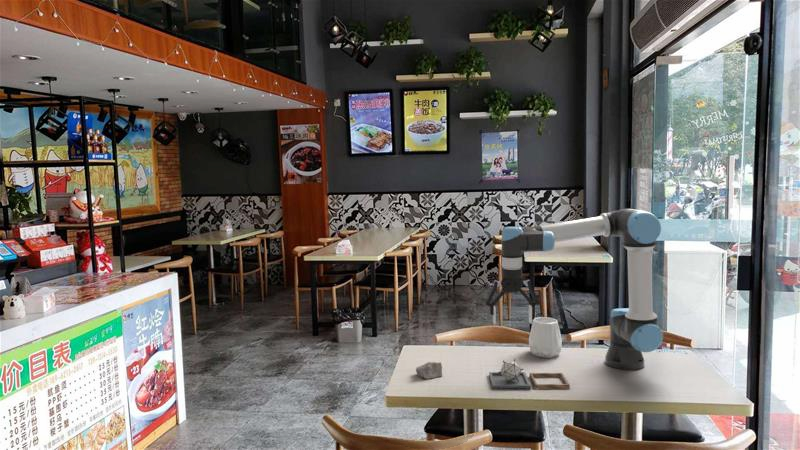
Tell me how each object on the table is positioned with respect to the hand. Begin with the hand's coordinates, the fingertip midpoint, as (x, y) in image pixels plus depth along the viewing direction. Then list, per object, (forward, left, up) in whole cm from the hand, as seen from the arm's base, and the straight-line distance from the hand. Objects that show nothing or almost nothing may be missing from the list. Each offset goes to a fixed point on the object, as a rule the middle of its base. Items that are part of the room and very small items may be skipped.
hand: (512, 323), depth 229 cm
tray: (+1, +2, -23) cm, 23 cm away
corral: (-14, +2, -23) cm, 27 cm away
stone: (+32, -5, -23) cm, 40 cm away
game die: (+1, +2, -22) cm, 22 cm away
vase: (-19, -32, -23) cm, 44 cm away
